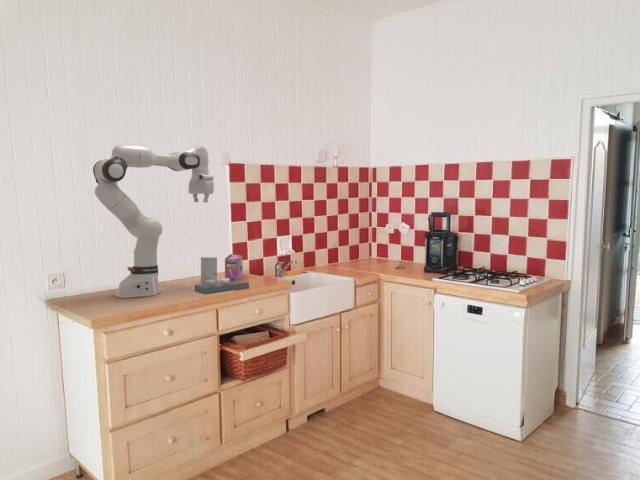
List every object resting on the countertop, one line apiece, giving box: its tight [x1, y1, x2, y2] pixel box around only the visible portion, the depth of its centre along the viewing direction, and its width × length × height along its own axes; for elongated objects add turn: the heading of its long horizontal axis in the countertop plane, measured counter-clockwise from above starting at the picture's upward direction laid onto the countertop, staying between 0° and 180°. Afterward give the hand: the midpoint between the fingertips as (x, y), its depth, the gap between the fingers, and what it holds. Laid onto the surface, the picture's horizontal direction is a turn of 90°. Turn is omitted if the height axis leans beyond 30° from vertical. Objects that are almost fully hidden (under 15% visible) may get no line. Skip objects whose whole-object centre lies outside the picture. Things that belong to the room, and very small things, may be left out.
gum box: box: [224, 253, 244, 281], centre depth 299 cm, size 24×8×14 cm, turn 2°
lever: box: [227, 264, 235, 280], centre depth 272 cm, size 2×2×10 cm
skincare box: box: [200, 256, 218, 284], centre depth 285 cm, size 8×6×15 cm
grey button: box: [207, 280, 216, 285], centre depth 256 cm, size 4×4×2 cm
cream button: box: [220, 277, 229, 283], centre depth 262 cm, size 4×4×2 cm
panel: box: [194, 279, 250, 295], centre depth 264 cm, size 26×12×3 cm, turn 131°
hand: (200, 202), depth 269 cm, fingers open, 8 cm apart
